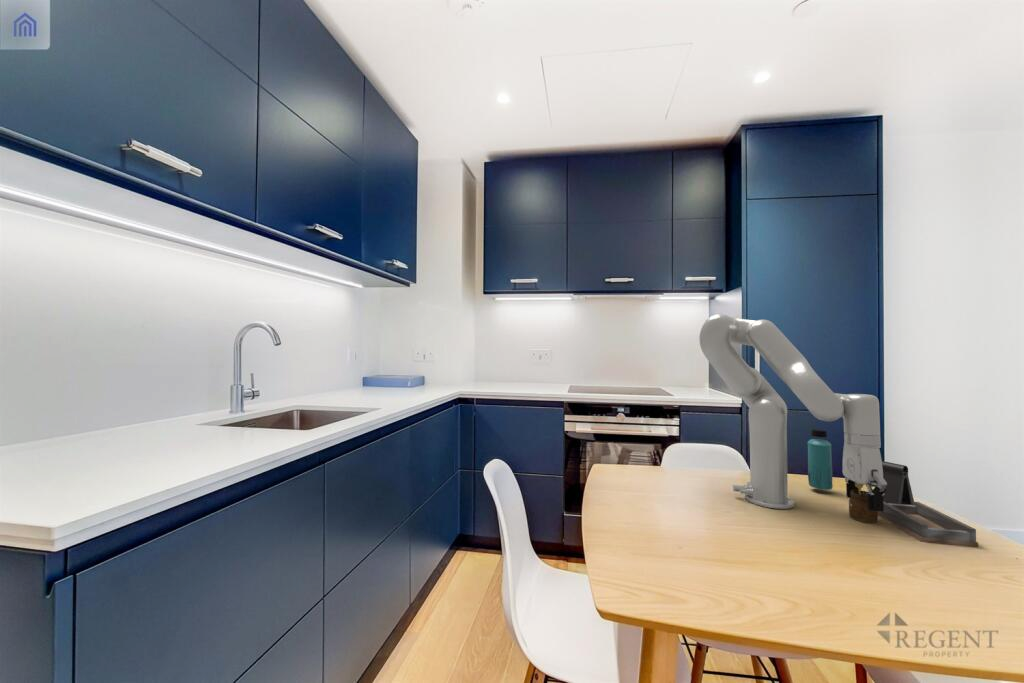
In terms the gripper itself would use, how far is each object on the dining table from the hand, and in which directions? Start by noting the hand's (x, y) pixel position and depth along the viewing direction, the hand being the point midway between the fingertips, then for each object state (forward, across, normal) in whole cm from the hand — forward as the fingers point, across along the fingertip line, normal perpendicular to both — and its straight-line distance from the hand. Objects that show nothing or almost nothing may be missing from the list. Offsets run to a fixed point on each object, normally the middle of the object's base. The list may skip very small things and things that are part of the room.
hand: (864, 503), depth 109 cm
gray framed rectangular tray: (+4, +3, +11) cm, 12 cm away
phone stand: (+4, -16, +16) cm, 23 cm away
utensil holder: (+4, 0, 0) cm, 4 cm away
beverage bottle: (+4, -23, 0) cm, 23 cm away
